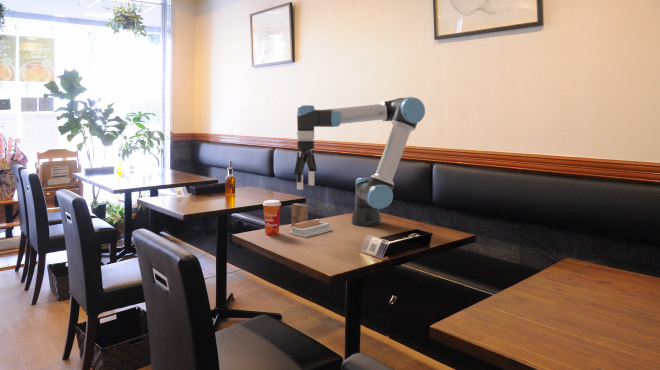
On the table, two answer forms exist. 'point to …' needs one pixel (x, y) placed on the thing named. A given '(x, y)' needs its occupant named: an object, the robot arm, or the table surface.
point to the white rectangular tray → (310, 228)
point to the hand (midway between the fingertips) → (305, 187)
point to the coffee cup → (272, 216)
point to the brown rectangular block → (299, 213)
